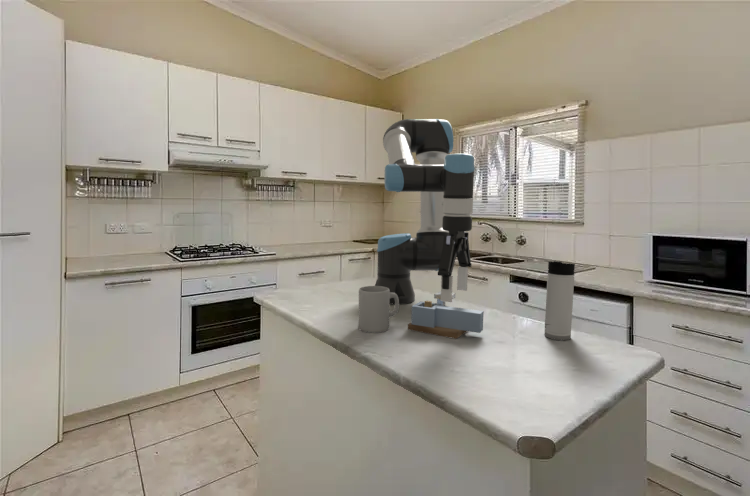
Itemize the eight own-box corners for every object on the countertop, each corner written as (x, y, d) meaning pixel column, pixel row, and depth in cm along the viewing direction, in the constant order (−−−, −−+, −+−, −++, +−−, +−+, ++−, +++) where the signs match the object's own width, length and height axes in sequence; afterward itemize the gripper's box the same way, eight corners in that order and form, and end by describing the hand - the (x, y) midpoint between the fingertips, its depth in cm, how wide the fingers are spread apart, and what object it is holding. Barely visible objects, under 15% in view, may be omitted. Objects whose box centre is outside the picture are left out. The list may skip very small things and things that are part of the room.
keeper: (439, 315, 120) (439, 291, 119) (455, 318, 117) (456, 293, 117) (432, 319, 116) (432, 293, 115) (448, 322, 114) (449, 296, 113)
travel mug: (540, 337, 106) (544, 260, 104) (549, 331, 111) (553, 258, 109) (565, 342, 102) (569, 263, 100) (574, 336, 107) (578, 260, 105)
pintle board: (429, 318, 123) (430, 293, 122) (474, 325, 116) (475, 299, 115) (407, 329, 112) (408, 302, 111) (456, 338, 104) (457, 310, 104)
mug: (366, 334, 107) (367, 293, 106) (353, 325, 115) (353, 287, 114) (406, 328, 113) (406, 289, 112) (390, 320, 120) (391, 283, 119)
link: (411, 324, 112) (411, 306, 111) (420, 318, 117) (420, 301, 117) (478, 334, 103) (478, 315, 102) (484, 328, 109) (485, 309, 108)
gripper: (457, 212, 119) (455, 284, 122) (426, 217, 97) (423, 304, 100) (483, 213, 115) (480, 287, 118) (456, 218, 93) (453, 308, 96)
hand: (454, 295), depth 109 cm, fingers open, 13 cm apart
